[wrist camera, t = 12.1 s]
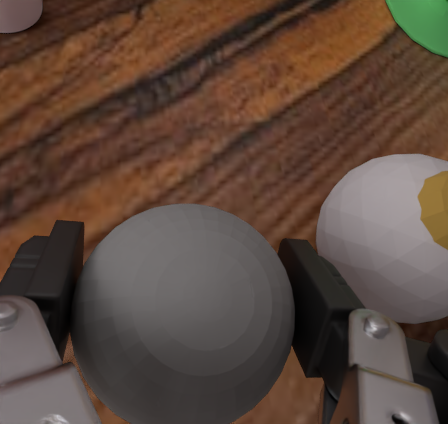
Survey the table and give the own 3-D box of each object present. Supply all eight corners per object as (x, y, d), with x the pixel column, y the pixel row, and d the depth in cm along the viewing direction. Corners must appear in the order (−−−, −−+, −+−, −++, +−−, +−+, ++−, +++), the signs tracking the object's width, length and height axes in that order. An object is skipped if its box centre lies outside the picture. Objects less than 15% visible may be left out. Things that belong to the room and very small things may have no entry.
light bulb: (164, 235, 19) (210, 121, 10) (253, 329, 19) (386, 301, 9) (56, 327, 17) (-16, 288, 8) (154, 439, 16) (206, 542, 7)
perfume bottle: (305, 335, 19) (557, 304, 8) (278, 150, 22) (435, -49, 11) (436, 322, 21) (781, 285, 10) (394, 155, 24) (625, -12, 13)
